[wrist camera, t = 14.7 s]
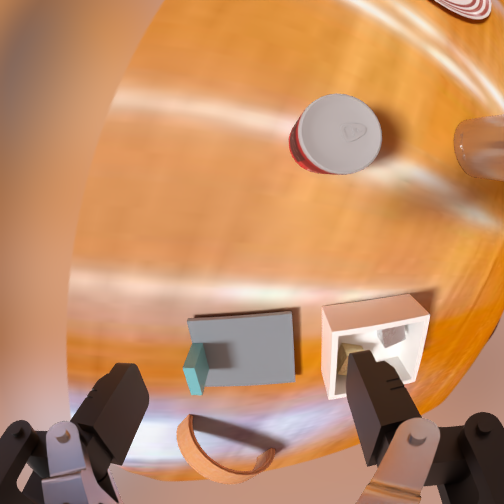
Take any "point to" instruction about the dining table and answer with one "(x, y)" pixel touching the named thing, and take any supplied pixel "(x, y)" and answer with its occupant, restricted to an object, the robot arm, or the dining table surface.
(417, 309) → the tub
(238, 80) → the dining table surface
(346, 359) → the brass part
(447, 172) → the dining table surface
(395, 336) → the steel part
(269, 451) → the arch
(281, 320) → the lid
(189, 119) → the dining table surface
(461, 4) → the dinner plate
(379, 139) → the canned food
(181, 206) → the dining table surface
